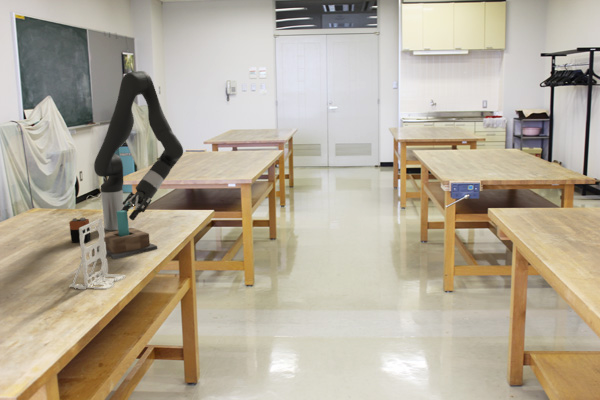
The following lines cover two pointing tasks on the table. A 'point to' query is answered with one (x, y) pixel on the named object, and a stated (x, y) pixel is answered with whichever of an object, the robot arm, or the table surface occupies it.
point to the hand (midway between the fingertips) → (125, 217)
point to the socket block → (127, 243)
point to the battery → (74, 230)
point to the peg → (122, 223)
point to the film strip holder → (100, 254)
